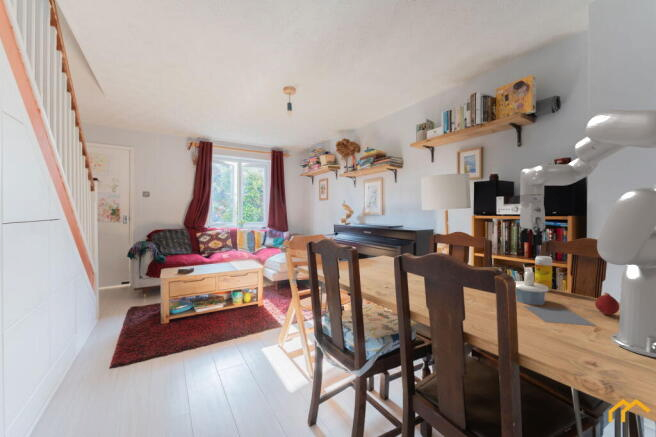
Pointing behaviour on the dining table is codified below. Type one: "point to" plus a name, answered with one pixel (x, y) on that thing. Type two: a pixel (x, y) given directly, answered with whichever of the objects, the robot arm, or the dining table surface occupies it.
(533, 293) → the bowl
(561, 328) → the dining table surface
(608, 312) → the red rounded piece
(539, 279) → the yellow bottle
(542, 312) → the mat
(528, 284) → the lid
